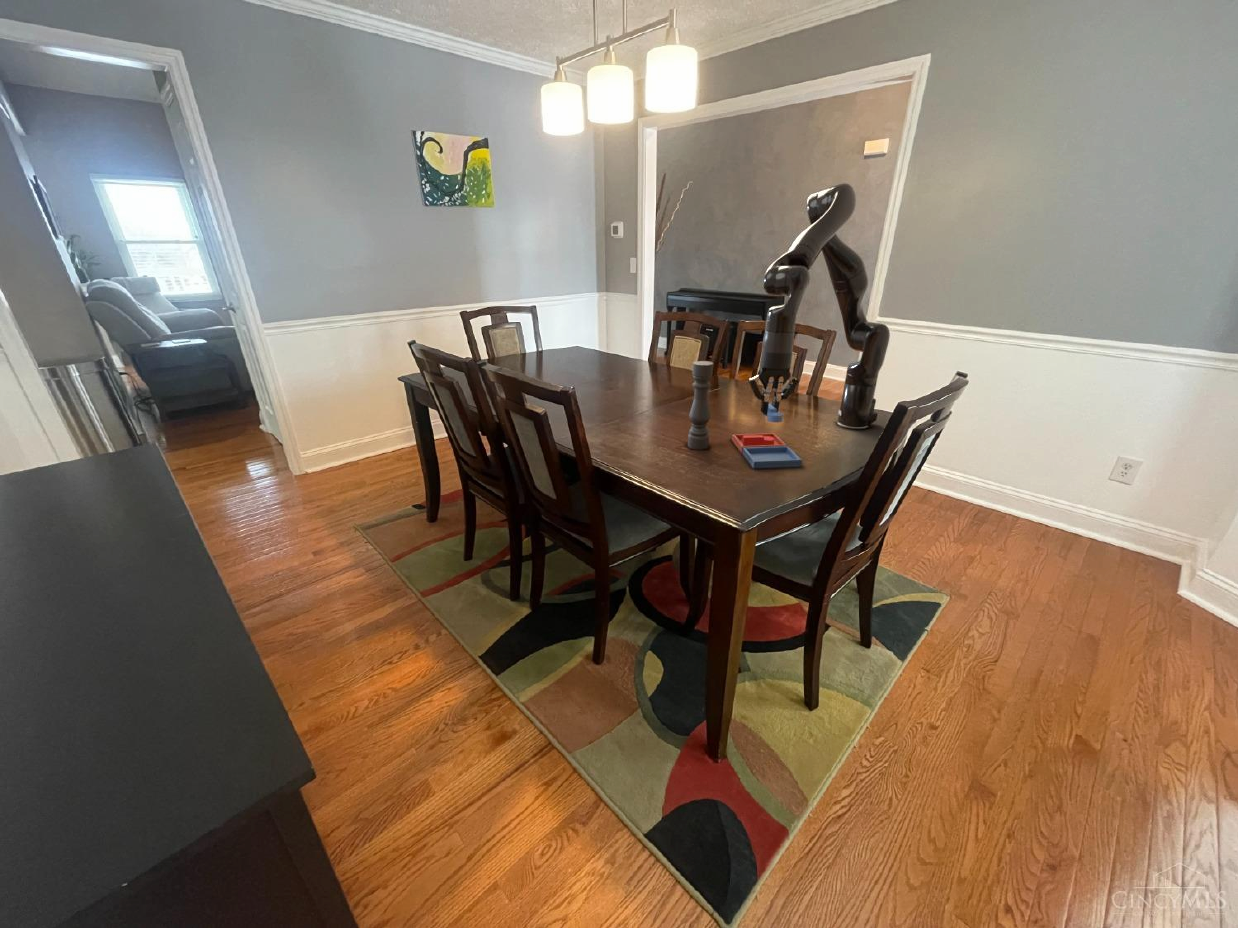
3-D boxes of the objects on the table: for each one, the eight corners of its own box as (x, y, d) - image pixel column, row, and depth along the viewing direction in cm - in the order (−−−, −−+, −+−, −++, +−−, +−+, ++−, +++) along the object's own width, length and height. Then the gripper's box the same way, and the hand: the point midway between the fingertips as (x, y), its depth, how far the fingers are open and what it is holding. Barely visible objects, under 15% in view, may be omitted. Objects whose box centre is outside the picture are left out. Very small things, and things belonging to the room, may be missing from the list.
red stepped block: (744, 447, 145) (745, 438, 144) (740, 442, 149) (741, 434, 148) (775, 446, 146) (776, 437, 145) (771, 441, 149) (772, 433, 148)
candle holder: (709, 443, 149) (715, 361, 139) (706, 450, 144) (712, 366, 134) (689, 441, 151) (694, 360, 141) (685, 448, 146) (689, 364, 136)
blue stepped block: (758, 412, 135) (759, 403, 134) (771, 412, 135) (772, 403, 134) (769, 422, 126) (771, 412, 125) (784, 422, 126) (785, 412, 125)
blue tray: (787, 452, 142) (787, 446, 141) (801, 466, 133) (802, 460, 132) (742, 454, 142) (742, 447, 141) (753, 468, 132) (754, 461, 131)
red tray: (773, 439, 152) (774, 433, 151) (786, 451, 143) (786, 445, 142) (731, 440, 152) (732, 434, 151) (741, 452, 142) (742, 446, 141)
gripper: (755, 352, 121) (747, 418, 128) (809, 351, 122) (799, 418, 129) (746, 346, 128) (739, 410, 135) (797, 346, 129) (788, 409, 136)
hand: (769, 413), depth 132 cm, fingers closed on blue stepped block, 2 cm apart
